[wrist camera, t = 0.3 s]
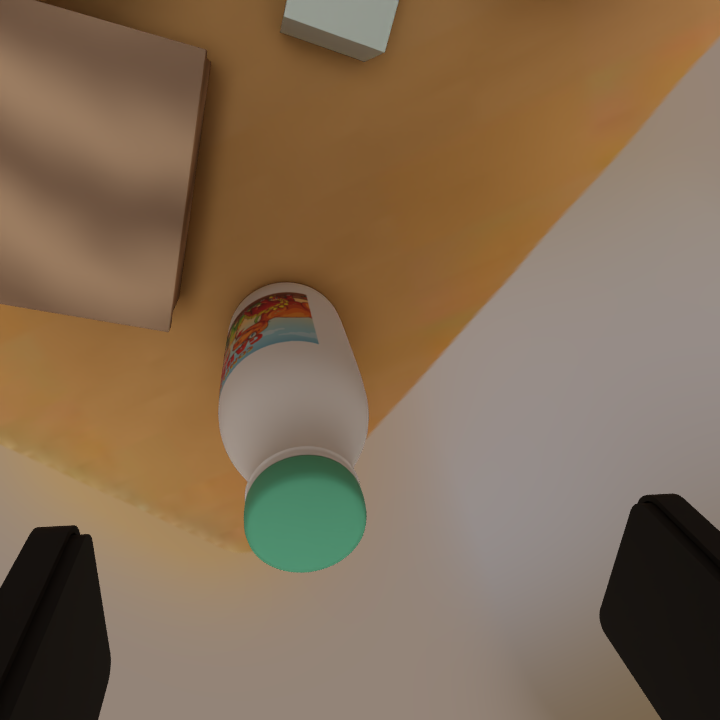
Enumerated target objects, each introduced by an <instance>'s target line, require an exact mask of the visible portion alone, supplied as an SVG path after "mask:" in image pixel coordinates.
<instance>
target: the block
mask: <svg viewBox="0 0 720 720" xmlns="http://www.w3.org/2000/svg"><path fill="white" fill-rule="evenodd" d="M398 1H399V0H287V1H286V6H285V11H284V16H283V20H282V25H281V30H280V32H281V33H284V34H287V35H290V36H293V37H295V38H298V39H301V40H304V41H307V42H310V43H313V44H315V45H318V46H321V47H324V48H327V49H330V50H333V51H335V52H338V53H341V54H344V55H347V56H350V57H353V58H355V59H358V60H361V61H364V62H365V61H367V60H369V59H371V58H374V57H376V56H378V55H380V54H382V53H385V49H386V46H387V42H388V38H389V35H390V31H391V27H392V24H393V20H394V16H395V13H396V9H397V5H398Z"/></svg>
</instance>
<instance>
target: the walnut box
mask: <svg viewBox="0 0 720 720" xmlns="http://www.w3.org/2000/svg"><path fill="white" fill-rule="evenodd" d="M210 65H211V62H210V61H209V60H208V59H207V50H206V49H202V48H199V47H195V46H192V45H188V44H185V43H181V42H178V41H174V40H171V39H168V38H164V37H161V36H157V35H154V34H150V33H147V32H143V31H140V30H136V29H133V28H129V27H126V26H122V25H119V24H116V23H112V22H109V21H105V20H102V19H98V18H95V17H91V16H88V15H84V14H81V13H77V12H74V11H70V10H67V9H63V8H60V7H57V6H53V5H50V4H46V3H43V2H39V1H36V0H0V304H4V305H10V306H16V307H22V308H28V309H34V310H40V311H46V312H52V313H58V314H64V315H70V316H76V317H82V318H87V319H93V320H99V321H105V322H111V323H117V324H123V325H129V326H135V327H141V328H147V329H153V330H159V331H165V332H169V330H170V328H171V322H172V315H173V310H174V308H175V305H176V303H177V301H178V299H179V294H180V287H181V280H182V272H183V265H184V257H185V250H186V243H187V235H188V228H189V220H190V213H191V206H192V198H193V191H194V183H195V176H196V169H197V161H198V154H199V147H200V139H201V132H202V124H203V117H204V110H205V102H206V95H207V87H208V80H209V73H210Z"/></svg>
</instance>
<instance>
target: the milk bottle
mask: <svg viewBox="0 0 720 720" xmlns="http://www.w3.org/2000/svg"><path fill="white" fill-rule="evenodd" d="M218 415H219V426H220V433H221V437H222V441H223V444H224V447H225V449H226V452H227V454H228V456H229V458H230V459H231V461H232V463H233V465H234V466H235V467H236V469H237V470H238V471H239V473H240V474H241V475H242V476H243V477H244V478H245V479H246V480H247V481H248V483H247V486H246V490H245V509H244V529H245V535H246V538H247V540H248V543H249V545H250V547H251V549H252V550H253V552H254V553H255V554H256V555H257V556H258V557H259V558H260V559H261V560H262V561H263V562H265V563H266V564H268V565H270V566H272V567H274V568H277V569H280V570H284V571H289V572H312V571H317V570H321V569H324V568H327V567H330V566H332V565H334V564H336V563H338V562H340V561H341V560H343V559H344V558H345V557H346V556H348V555H349V554H350V553H351V552H352V551H353V550H354V549H355V548H356V546H357V545H358V543H359V542H360V540H361V538H362V536H363V533H364V530H365V525H366V507H365V502H364V497H363V494H362V491H361V488H360V483H359V479H358V476H357V473H356V471H355V470H354V466H355V464H356V462H357V460H358V458H359V456H360V454H361V452H362V450H363V447H364V444H365V440H366V436H367V431H368V420H369V413H368V402H367V396H366V392H365V389H364V385H363V381H362V378H361V375H360V372H359V369H358V366H357V363H356V360H355V357H354V354H353V352H352V349H351V346H350V344H349V341H348V338H347V336H346V333H345V330H344V328H343V325H342V322H341V320H340V318H339V316H338V314H337V312H336V310H335V308H334V307H333V305H332V304H331V303H330V301H329V300H328V299H327V298H326V297H325V296H323V295H322V294H321V293H319V292H318V291H316V290H314V289H313V288H310V287H308V286H305V285H302V284H297V283H290V282H283V283H274V284H270V285H267V286H264V287H261V288H259V289H257V290H256V291H254V292H252V293H251V294H250V295H248V296H247V297H246V298H245V299H244V300H243V301H242V302H241V303H240V304H239V306H238V307H237V309H236V310H235V312H234V314H233V317H232V319H231V322H230V326H229V330H228V336H227V342H226V349H225V355H224V362H223V369H222V377H221V385H220V395H219V412H218Z"/></svg>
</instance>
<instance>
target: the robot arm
mask: <svg viewBox="0 0 720 720" xmlns="http://www.w3.org/2000/svg"><path fill="white" fill-rule="evenodd" d="M600 623H601V626H602V629H603V631H604V633H605V634H606V636H607V637H608V639H609V641H610V642H611V643H612V645H613V646H614V648H615V649H616V651H617V653H618V654H619V656H620V657H621V659H622V660H623V662H624V663H625V665H626V666H627V668H628V669H629V671H630V672H631V674H632V675H633V676H634V678H635V680H636V681H637V683H638V684H639V686H640V687H641V689H642V691H643V692H644V693H645V695H646V697H647V698H648V700H649V701H650V703H651V704H652V706H653V707H654V709H655V710H656V712H657V713H658V715H659V716H660V718H661V719H662V720H720V531H719V530H718V529H716V528H715V527H714V526H713V525H712V524H711V523H710V522H709V521H708V520H707V519H706V518H705V517H703V516H702V515H701V514H700V513H699V512H698V511H697V510H696V509H695V508H693V507H692V506H691V505H690V504H689V503H688V502H687V501H686V500H685V499H684V498H682V497H681V496H679V495H677V494H658V495H646V496H643V497H641V498H640V499H639V501H638V503H637V504H635V505H634V506H633V507H632V509H631V511H630V514H629V518H628V521H627V524H626V527H625V531H624V534H623V537H622V540H621V544H620V547H619V550H618V553H617V557H616V560H615V563H614V566H613V570H612V573H611V576H610V579H609V583H608V586H607V589H606V592H605V596H604V599H603V602H602V605H601V608H600ZM110 665H111V657H110V649H109V642H108V636H107V630H106V624H105V617H104V611H103V605H102V598H101V593H100V586H99V579H98V573H97V567H96V560H95V555H94V548H93V542H92V537H91V536H90V535H89V534H84V535H80V532H79V529H78V527H77V526H75V525H72V526H53V527H37V528H35V529H33V531H32V532H31V534H30V535H29V537H28V539H27V541H26V542H25V544H24V546H23V548H22V550H21V551H20V554H19V555H18V557H17V559H16V560H15V562H14V564H13V566H12V568H11V570H10V571H9V574H8V575H7V577H6V579H5V581H4V582H3V584H2V586H1V588H0V720H98V717H99V714H100V710H101V707H102V703H103V699H104V696H105V692H106V688H107V684H108V680H109V675H110Z"/></svg>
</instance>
